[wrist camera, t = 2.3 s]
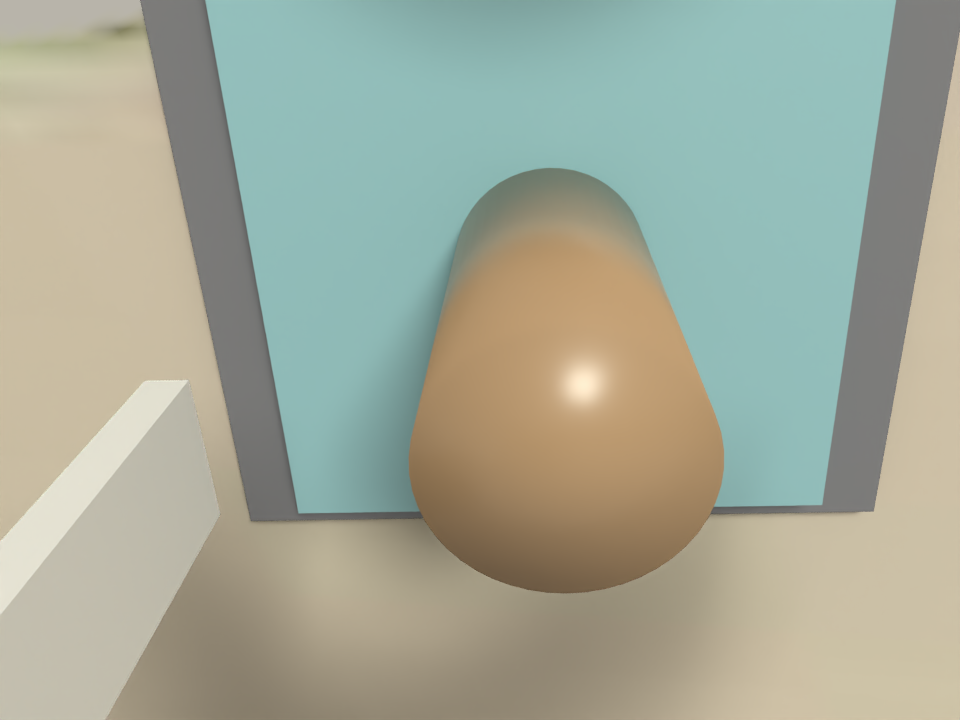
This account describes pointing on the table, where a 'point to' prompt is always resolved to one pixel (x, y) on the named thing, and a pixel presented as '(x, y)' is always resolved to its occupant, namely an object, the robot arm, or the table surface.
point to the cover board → (547, 96)
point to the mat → (876, 297)
